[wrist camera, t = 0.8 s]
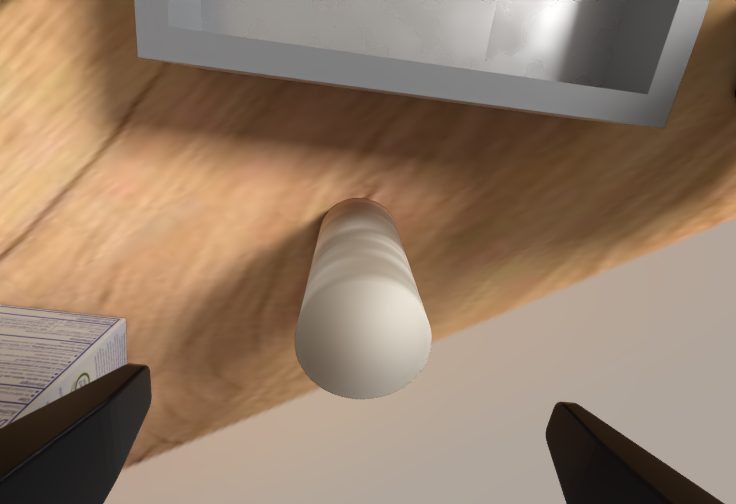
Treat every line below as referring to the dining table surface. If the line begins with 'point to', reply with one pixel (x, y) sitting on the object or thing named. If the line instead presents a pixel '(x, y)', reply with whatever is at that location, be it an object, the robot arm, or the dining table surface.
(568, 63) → the bore plate
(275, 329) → the dining table surface
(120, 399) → the robot arm
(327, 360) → the peg
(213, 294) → the dining table surface
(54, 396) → the medicine box
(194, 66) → the open box
